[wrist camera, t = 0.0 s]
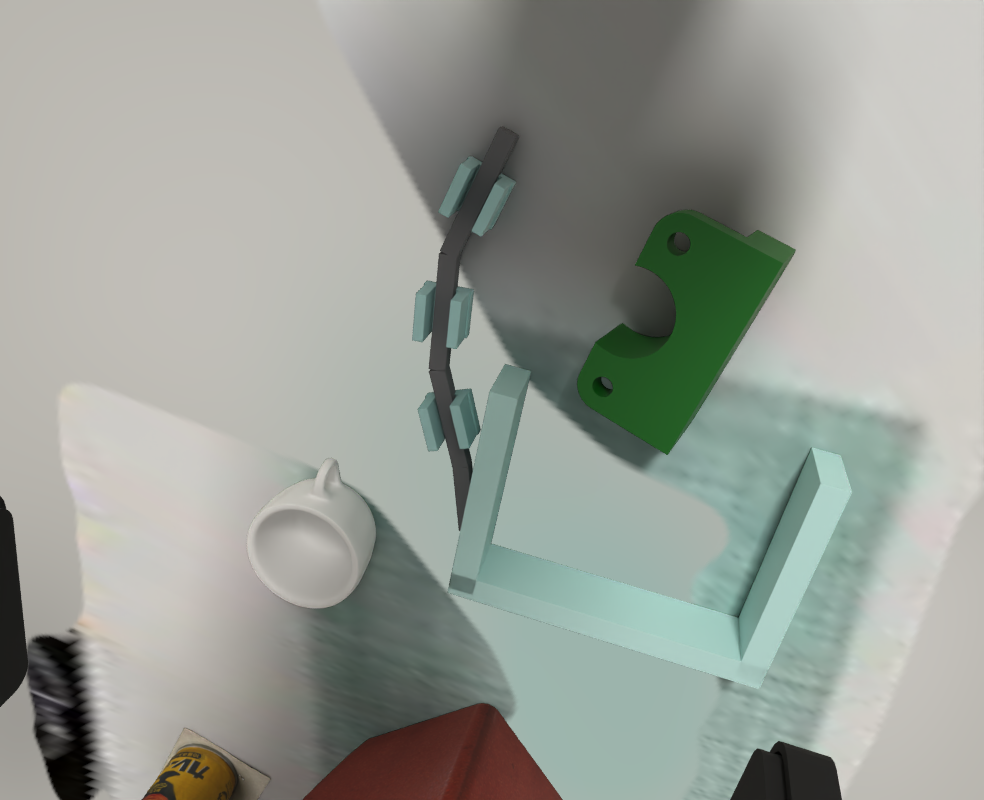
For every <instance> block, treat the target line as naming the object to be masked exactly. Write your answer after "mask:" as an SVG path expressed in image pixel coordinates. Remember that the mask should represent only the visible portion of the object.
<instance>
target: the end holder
mask: <svg viewBox="0 0 984 800" xmlns="http://www.w3.org/2000/svg"><path fill="white" fill-rule="evenodd" d="M530 374H531V371H529V370H526V369H522V368H518V367H515V366H511V365H507V364H505V365H504V367H503V369H502V370H501V372H500V374H499V376H498V377H497V379H496V381H495V383H494V385H493V387H492V388H491V390H490V392H489V397H488V402H487V406H486V411H485V416H484V421H483V425H482V430H481V435H480V440H479V445H478V449H477V454H476V459H475V464H474V468H473V473H472V478H471V483H470V487H469V492H468V497H467V502H466V506H465V511H464V516H463V521H462V526H461V530H460V536H459V540H458V545H457V549H456V554H455V559H454V564H453V569H452V573H451V579H450V583H449V588H448V592H447V593H450V594H453V595H457V596H460V597H463V598H466V599H470V600H473V601H476V602H480V603H482V604H486V605H489V606H492V607H495V608H499V609H502V610H505V611H508V612H511V613H515V614H518V615H521V616H524V617H528V618H532V619H534V620H537V621H540V622H544V623H547V624H551V625H553V626H557V627H560V628H563V629H566V630H569V631H573V632H576V633H579V634H583V635H586V636H589V637H592V638H595V639H599V640H602V641H605V642H609V643H611V644H615V645H618V646H621V647H624V648H628V649H631V650H634V651H637V652H641V653H644V654H647V655H650V656H653V657H657V658H660V659H663V660H667V661H669V662H673V663H676V664H679V665H682V666H686V667H689V668H692V669H695V670H699V671H702V672H705V673H708V674H711V675H715V676H718V677H721V678H724V679H728V680H731V681H734V682H737V683H740V684H744V685H747V686H750V687H753V688H757V689H759V688H760V686H761V684H762V682H763V680H764V678H765V676H766V674H767V671H768V669H769V667H770V665H771V663H772V661H773V659H774V657H775V654H776V652H777V650H778V648H779V646H780V644H781V642H782V640H783V637H784V635H785V633H786V631H787V629H788V627H789V625H790V623H791V620H792V618H793V616H794V614H795V612H796V610H797V608H798V606H799V603H800V601H801V599H802V597H803V595H804V593H805V591H806V589H807V586H808V584H809V582H810V580H811V578H812V576H813V574H814V572H815V569H816V567H817V565H818V563H819V561H820V559H821V557H822V555H823V552H824V550H825V548H826V546H827V544H828V542H829V540H830V537H831V535H832V533H833V531H834V529H835V527H836V525H837V523H838V520H839V518H840V516H841V514H842V512H843V510H844V508H845V506H846V503H847V501H848V499H849V497H850V495H851V493H852V490H851V487H850V484H849V481H848V478H847V474H846V471H845V468H844V465H843V462H842V458H841V455H838V454H834V453H831V452H827V451H823V450H820V449H816V448H811V451H810V453H809V455H808V457H807V460H806V462H805V464H804V467H803V469H802V471H801V474H800V476H799V478H798V481H797V483H796V485H795V488H794V490H793V492H792V495H791V497H790V499H789V502H788V504H787V506H786V509H785V511H784V513H783V516H782V518H781V520H780V523H779V525H778V527H777V530H776V532H775V534H774V537H773V539H772V541H771V544H770V546H769V548H768V550H767V553H766V555H765V557H764V560H763V562H762V564H761V567H760V569H759V571H758V574H757V576H756V578H755V581H754V583H753V585H752V588H751V590H750V592H749V595H748V597H747V599H746V602H745V604H744V606H743V609H742V611H741V613H740V616H739V618H738V617H734V616H731V615H728V614H724V613H721V612H718V611H714V610H711V609H708V608H704V607H701V606H698V605H694V604H691V603H688V602H684V601H681V600H678V599H674V598H671V597H668V596H664V595H660V594H658V593H654V592H651V591H648V590H644V589H641V588H638V587H634V586H630V585H628V584H624V583H621V582H618V581H614V580H611V579H608V578H604V577H601V576H598V575H594V574H591V573H587V572H584V571H581V570H578V569H574V568H571V567H568V566H564V565H561V564H557V563H554V562H551V561H548V560H544V559H541V558H538V557H534V556H531V555H528V554H524V553H521V552H518V551H515V550H511V549H508V548H504V547H501V546H498V545H495V544H491V542H492V538H493V533H494V529H495V525H496V520H497V516H498V512H499V507H500V503H501V499H502V494H503V490H504V486H505V481H506V477H507V473H508V468H509V464H510V460H511V456H512V451H513V447H514V443H515V439H516V434H517V430H518V426H519V422H520V417H521V413H522V409H523V404H524V400H525V396H526V391H527V387H528V383H529V379H530Z"/></svg>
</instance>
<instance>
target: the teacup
mask: <svg viewBox="0 0 984 800" xmlns="http://www.w3.org/2000/svg"><path fill="white" fill-rule="evenodd" d="M375 539H376V526H375V521H374V518H373V515H372V512H371V510H370V508H369V506H368V505H367V503H366V502H365V501H364V499H363V498H362V497H361V496H360V495H359V494H358V493H357V492H356V491H354V490H353V489H352V488H350V487H349V486H347V485H345V484H343V483H342V481H341V478H340V472H339V466H338V463H337V461H336V460H335V459H333V458H328V459H326V460H325V461H324V462H323V464H322V465H321V467H320V469H319V471H318V474H317V476H316V478H313V479H306V480H303V481H300V482H298V483H296V484H294V485H292V486H290V487H288V488H286V489H285V490H283V491H282V492H280V493H279V494H278V495H277V496H275V497H274V498H273V499H272V500H271V501H270V502H269V503H268V504H266V505H265V506H264V507H263V508H262V509H261V510H260V511H259V513H258V514H257V515H256V516H255V518H254V520H253V521H252V523H251V525H250V528H249V531H248V535H247V553H248V557H249V560H250V563H251V566H252V568H253V570H254V571H255V573H256V575H257V576H258V578H259V579H260V580H261V581H262V583H263V584H264V585H265V586H266V587H267V588H268V589H269V590H270V591H272V592H273V593H274V594H275V595H277V596H278V597H280V598H282V599H283V600H285V601H287V602H289V603H292V604H294V605H297V606H301V607H305V608H326V607H330V606H333V605H336V604H338V603H340V602H341V601H343V600H344V599H345V598H346V597H348V596H349V595H350V594H351V593H352V592H353V591H354V589H355V588H356V587H357V585H358V584H359V582H360V581H361V579H362V577H363V575H364V573H365V570H366V568H367V566H368V564H369V561H370V559H371V556H372V553H373V549H374V544H375Z"/></svg>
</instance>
